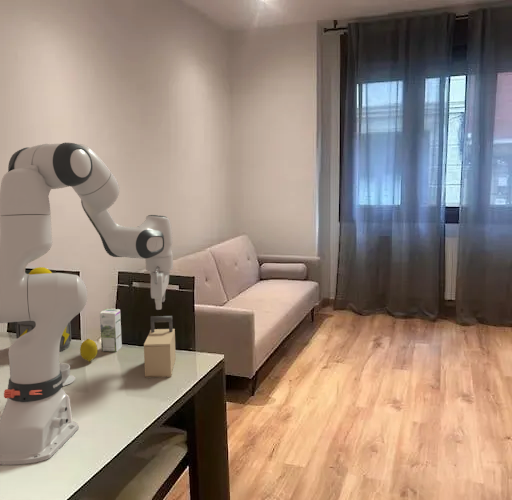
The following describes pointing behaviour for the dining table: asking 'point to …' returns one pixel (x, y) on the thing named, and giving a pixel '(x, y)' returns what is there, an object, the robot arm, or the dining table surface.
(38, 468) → the dining table surface
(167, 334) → the lid flap
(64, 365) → the teacup
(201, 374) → the dining table surface
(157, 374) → the carton
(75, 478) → the dining table surface
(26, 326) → the decorative lamp
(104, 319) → the syrup box
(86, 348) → the lemon
